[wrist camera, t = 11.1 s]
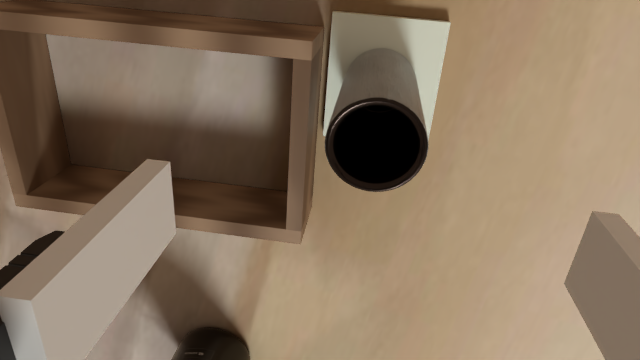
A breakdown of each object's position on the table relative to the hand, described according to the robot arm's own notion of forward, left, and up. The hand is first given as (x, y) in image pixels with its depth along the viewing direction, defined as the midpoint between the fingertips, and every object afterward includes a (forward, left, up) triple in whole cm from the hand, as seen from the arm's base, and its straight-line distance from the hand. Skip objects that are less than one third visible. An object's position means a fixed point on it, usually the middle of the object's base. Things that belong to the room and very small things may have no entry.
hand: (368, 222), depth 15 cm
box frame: (-14, -3, -17) cm, 22 cm away
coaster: (0, 0, -17) cm, 17 cm away
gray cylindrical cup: (0, 0, -17) cm, 17 cm away
